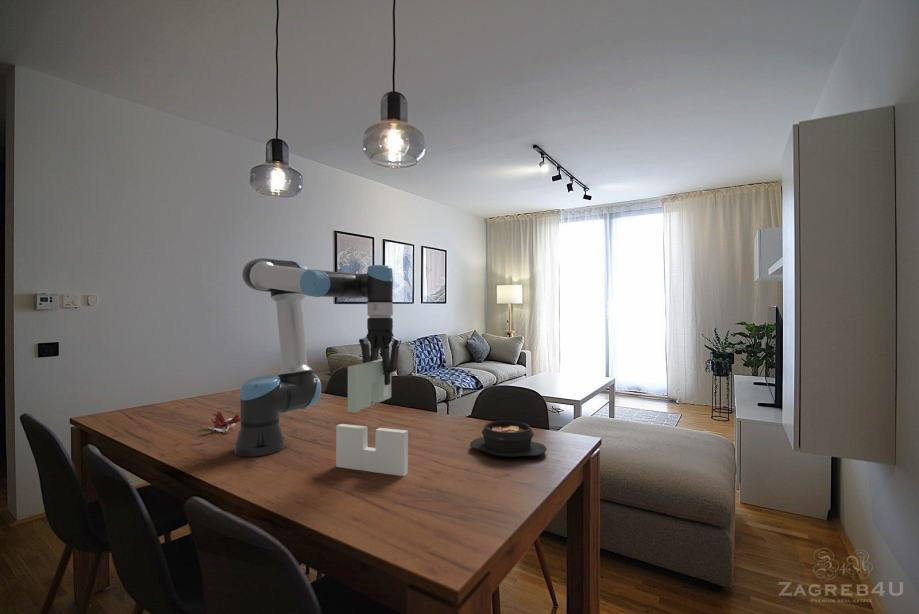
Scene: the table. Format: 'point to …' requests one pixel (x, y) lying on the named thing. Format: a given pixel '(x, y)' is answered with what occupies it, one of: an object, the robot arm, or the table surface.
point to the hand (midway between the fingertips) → (379, 395)
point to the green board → (365, 385)
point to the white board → (372, 450)
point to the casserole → (508, 440)
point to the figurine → (224, 422)
